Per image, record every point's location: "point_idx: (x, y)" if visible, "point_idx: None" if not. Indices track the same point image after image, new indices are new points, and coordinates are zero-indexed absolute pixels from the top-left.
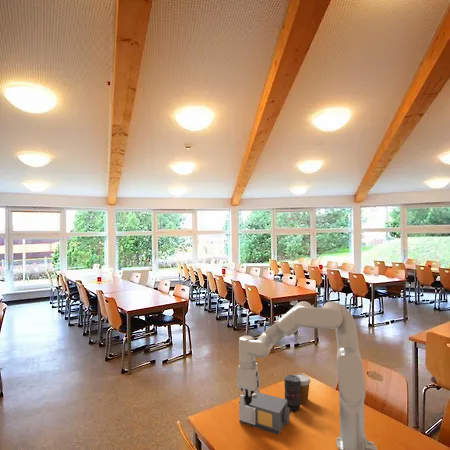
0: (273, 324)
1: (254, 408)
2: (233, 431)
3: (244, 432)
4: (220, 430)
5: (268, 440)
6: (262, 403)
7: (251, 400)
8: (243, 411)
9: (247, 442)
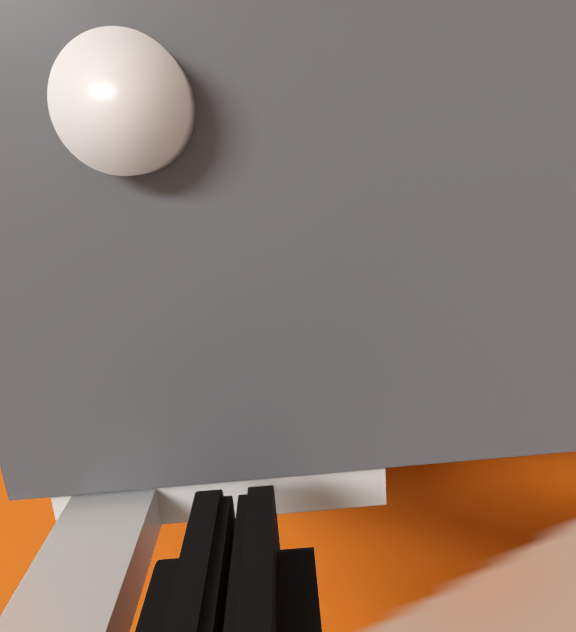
0: None
1: (371, 485)
2: (173, 538)
3: None
4: None
5: (549, 468)
6: (472, 304)
7: (315, 574)
8: None
9: (376, 588)
